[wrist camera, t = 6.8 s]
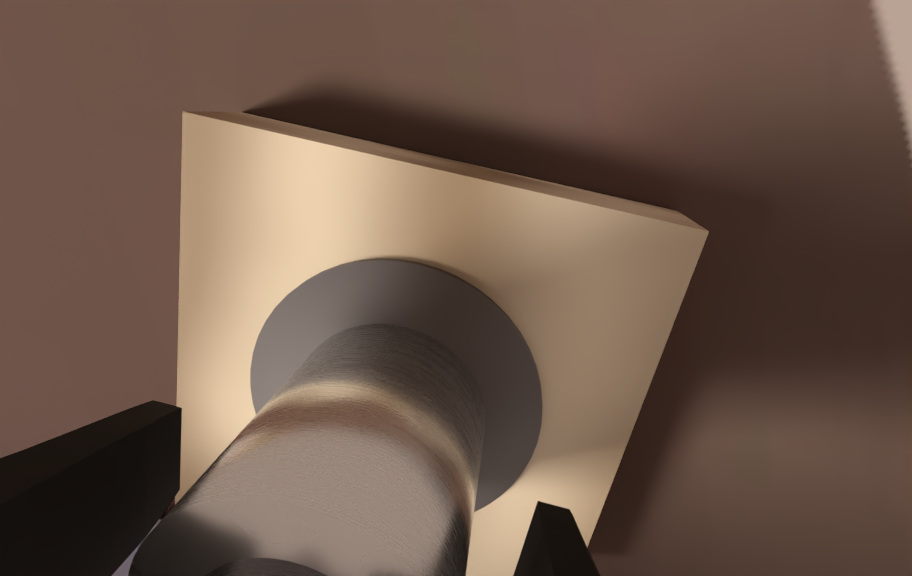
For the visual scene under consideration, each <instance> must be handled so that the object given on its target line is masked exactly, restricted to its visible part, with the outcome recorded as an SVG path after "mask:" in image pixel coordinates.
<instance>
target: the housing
mask: <svg viewBox="0 0 912 576" xmlns="http://www.w3.org/2000/svg"><path fill="white" fill-rule="evenodd" d="M485 421H486V419H485V407H484V403H483V398H482V395H481V392H480V390H479V387H478V385H477V383H476V381H475V379H474V377H473V375H472V374H471V373H470V371H469V370H468V368H467V367H466V366H465V364H464V363H463V362H462V361H461V360H460V359H459V358H458V357H457V356H456V355H455V354H454V353H453V352H452V351H451V350H449V349H448V348H447V347H446V346H444V345H443V344H441V343H440V342H438V341H437V340H435V339H433V338H431V337H429V336H427V335H425V334H423V333H421V332H418V331H415V330H413V329H410V328H406V327H401V326H397V325H388V324H368V325H362V326H356V327H353V328H349V329H346V330H343V331H341V332H339V333H337V334H334V335H333V336H331V337H330V338H328V339H326V340H325V341H324V342H322V343H321V344H320V345H319V346H318V347H317V348H316V349H315V350H314V351H313V352H312V353H311V354H310V355H309V356H308V358H307V359H306V360H305V361H304V362H303V363H302V364H301V365H300V366H299V368H298V369H297V370H296V371H295V372H294V373H293V374H292V375H291V376H290V378H289V379H288V380H287V381H286V382H285V383H284V384H283V385H282V386H281V388H280V389H279V390H278V391H277V392H276V393H275V394H274V395H273V396H272V398H271V399H270V400H269V401H268V402H267V403H266V404H265V405H264V407H263V408H262V409H261V410H260V411H259V412H258V413H257V414H256V415H255V417H254V418H253V419H252V420H251V421H250V422H249V423H248V424H247V425H246V427H245V428H244V429H243V430H242V431H241V432H240V433H239V434H238V435H237V437H236V438H235V439H234V440H233V441H232V442H231V443H230V444H229V445H228V447H227V448H226V449H225V450H224V451H223V452H222V453H221V454H220V455H219V457H218V458H217V459H216V460H215V461H214V462H213V463H212V464H211V466H210V467H209V468H208V469H207V470H206V471H205V472H204V473H203V474H202V476H201V477H200V478H199V479H198V480H197V481H196V482H195V483H194V484H193V486H192V487H191V488H190V489H189V490H188V491H187V492H186V493H185V494H184V496H183V497H182V498H181V499H180V500H179V501H178V502H177V503H176V504H175V506H174V507H173V508H172V509H171V510H170V511H169V512H168V513H167V514H166V516H165V517H164V518H163V519H162V520H161V521H160V522H159V523H158V525H157V526H156V527H155V528H154V529H153V530H152V531H151V532H150V534H149V535H148V536H147V537H146V538H145V539H144V541H143V542H142V543H141V545H140V546H139V548H138V550H137V552H136V553H135V555H134V557H133V560H132V563H131V566H130V569H129V573H128V576H466V569H467V561H468V554H469V546H470V539H471V531H472V523H473V516H474V508H475V501H476V493H477V485H478V478H479V470H480V463H481V455H482V447H483V440H484V432H485Z"/></svg>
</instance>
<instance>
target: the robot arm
mask: <svg viewBox="0 0 912 576" xmlns="http://www.w3.org/2000/svg"><path fill="white" fill-rule="evenodd" d="M181 423H182V408H181V407H177V406H173V405H169V404H165V403H161V402H158V401H154V400H153V401H150V402H147V403H144V404H141V405H138V406H135V407H133V408H130V409H127V410H125V411H122V412H119V413H117V414H114V415H112V416H109V417H107V418H104V419H102V420H99V421H96V422H94V423H91V424H89V425H86V426H84V427H81V428H79V429H76V430H74V431H71V432H69V433H66V434H63V435H61V436H58V437H56V438H53V439H51V440H48V441H45V442H43V443H40V444H38V445H35V446H33V447H30V448H27V449H25V450H22V451H19V452H17V453H14V454H11V455H8V456H5V457H3V458H0V576H128V573H129V569H130V566H131V563H132V560H133V557H134V555H135V553H136V552H137V550H138V548H139V546H140V545H141V543H142V542H143V541H144V539H145V538H146V537H147V536H148V535H149V534H150V532H151V531H152V530H153V529H154V528H155V527H156V526H157V525H158V523H159V522H160V521H161V519H160V517H161V516H162V515H163V513H164V512H165V510H166V509H167V507H168V506H169V504H170V503H171V502H172V500H173V499H174V497H175V496H176V494H177V493H178V491H179V490H180V463H181ZM513 576H600V574H599V572H598V570H597V568H596V566H595V563H594V561H593V559H592V557H591V555H590V553H589V550H588V548H587V546H586V544H585V541H584V539H583V537H582V535H581V532H580V530H579V528H578V526H577V523H576V521H575V519H574V516H573V514H572V513H571V511H570V509H567V508H563V507H559V506H556V505H552V504H548V503H544V502H540V501H538V502H537V505H536V508H535V511H534V514H533V517H532V520H531V523H530V526H529V529H528V532H527V535H526V538H525V541H524V544H523V548H522V551H521V554H520V557H519V560H518V563H517V566H516V569H515V572H514V575H513Z"/></svg>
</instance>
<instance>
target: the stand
mask: <svg viewBox="0 0 912 576" xmlns="http://www.w3.org/2000/svg"><path fill="white" fill-rule="evenodd" d="M708 233H709V231H708V230H706V229H705V228H703V227H702V226H700V225H698V224H697V223H695V222H694V221H692V220H691V219H689V218H688V217H686V216H684V215H683V214H681V213H680V212H678V211H676V210H671V209H667V208H662V207H658V206H654V205H649V204H645V203H640V202H636V201H632V200H627V199H623V198H618V197H614V196H609V195H605V194H601V193H596V192H592V191H587V190H583V189H579V188H574V187H570V186H565V185H561V184H556V183H552V182H548V181H543V180H539V179H534V178H530V177H525V176H521V175H517V174H512V173H508V172H503V171H499V170H495V169H490V168H486V167H481V166H477V165H472V164H468V163H464V162H459V161H455V160H450V159H446V158H442V157H437V156H433V155H428V154H424V153H419V152H415V151H411V150H406V149H402V148H397V147H393V146H389V145H384V144H380V143H375V142H371V141H366V140H362V139H358V138H353V137H349V136H344V135H340V134H336V133H331V132H327V131H322V130H318V129H313V128H309V127H305V126H300V125H296V124H291V123H287V122H283V121H278V120H274V119H269V118H265V117H260V116H256V115H252V114H247V113H243V112H183V123H182V172H181V222H180V271H179V320H178V370H177V407H181V408H182V423H181V463H180V490H179V491H178V493H177V494H176V496H175V504H176V503H177V502H178V501H179V500H180V499H181V498H182V497H183V496H184V494H185V493H186V492H187V491H188V490H189V489H190V488H191V487H192V486H193V484H194V483H195V482H196V481H197V480H198V479H199V478H200V477H201V476H202V474H203V473H204V472H205V471H206V470H207V469H208V468H209V467H210V466H211V464H212V463H213V462H214V461H215V460H216V459H217V458H218V457H219V455H220V454H221V453H222V452H223V451H224V450H225V449H226V448H227V447H228V445H229V444H230V443H231V442H232V441H233V440H234V439H235V438H236V437H237V435H238V434H239V433H240V432H241V431H242V430H243V429H244V428H245V427H246V425H247V424H248V423H249V422H250V421H251V420H252V419H253V418H254V417H255V415H256V414H257V413H258V412H259V411H260V410H261V409H262V408H263V407H264V405H265V404H266V403H267V402H268V401H269V400H270V399H271V398H272V396H273V395H274V394H275V393H276V392H277V391H278V390H279V389H280V388H281V386H282V385H283V384H284V383H285V382H286V381H287V380H288V379H289V378H290V376H291V375H292V374H293V373H294V372H295V371H296V370H297V369H298V368H299V366H300V365H301V364H302V363H303V362H304V361H305V360H306V359H307V358H308V356H309V355H310V354H311V353H312V352H313V351H314V350H315V349H316V348H317V347H318V346H319V345H320V344H321V343H322V342H324V341H325V340H326V339H328V338H330V337H331V336H333V335H334V334H337V333H339V332H341V331H343V330H346V329H349V328H353V327H356V326H362V325H368V324H388V325H397V326H401V327H406V328H410V329H413V330H415V331H418V332H421V333H423V334H425V335H427V336H429V337H431V338H433V339H435V340H437V341H438V342H440V343H441V344H443V345H444V346H446V347H447V348H448V349H449V350H451V351H452V352H453V353H454V354H455V355H456V356H457V357H458V358H459V359H460V360H461V361H462V362H463V363H464V364H465V366H466V367H467V368H468V370H469V371H470V373H471V374H472V375H473V377H474V379H475V381H476V383H477V385H478V387H479V390H480V392H481V395H482V398H483V403H484V407H485V419H486V421H485V432H484V440H483V447H482V455H481V463H480V470H479V478H478V485H477V493H476V501H475V508H474V516H473V523H472V531H471V539H470V546H469V554H468V561H467V569H466V576H513V575H514V572H515V569H516V566H517V563H518V560H519V557H520V554H521V551H522V548H523V544H524V541H525V538H526V535H527V532H528V529H529V526H530V523H531V520H532V517H533V514H534V511H535V508H536V505H537V502H538V501H540V502H544V503H548V504H552V505H556V506H559V507H563V508H567V509H570V511H571V513H572V514H573V516H574V519H575V521H576V523H577V526H578V528H579V530H580V532H581V535H582V537H583V539H584V541H585V544H586V546H587V547H588V544H589V542H590V539H591V536H592V534H593V531H594V529H595V526H596V523H597V521H598V518H599V516H600V513H601V510H602V508H603V505H604V503H605V500H606V497H607V495H608V492H609V490H610V487H611V485H612V482H613V479H614V477H615V474H616V472H617V469H618V466H619V464H620V461H621V459H622V456H623V453H624V451H625V448H626V446H627V443H628V440H629V438H630V435H631V433H632V430H633V428H634V425H635V422H636V420H637V417H638V415H639V412H640V409H641V407H642V404H643V402H644V399H645V396H646V394H647V391H648V389H649V386H650V383H651V381H652V378H653V376H654V373H655V371H656V368H657V365H658V363H659V360H660V358H661V355H662V352H663V350H664V347H665V345H666V342H667V339H668V337H669V334H670V332H671V329H672V326H673V324H674V321H675V319H676V316H677V313H678V311H679V308H680V306H681V303H682V301H683V298H684V295H685V293H686V290H687V288H688V285H689V282H690V280H691V277H692V275H693V272H694V269H695V267H696V264H697V262H698V259H699V256H700V254H701V251H702V249H703V246H704V244H705V241H706V238H707V236H708Z"/></svg>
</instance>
